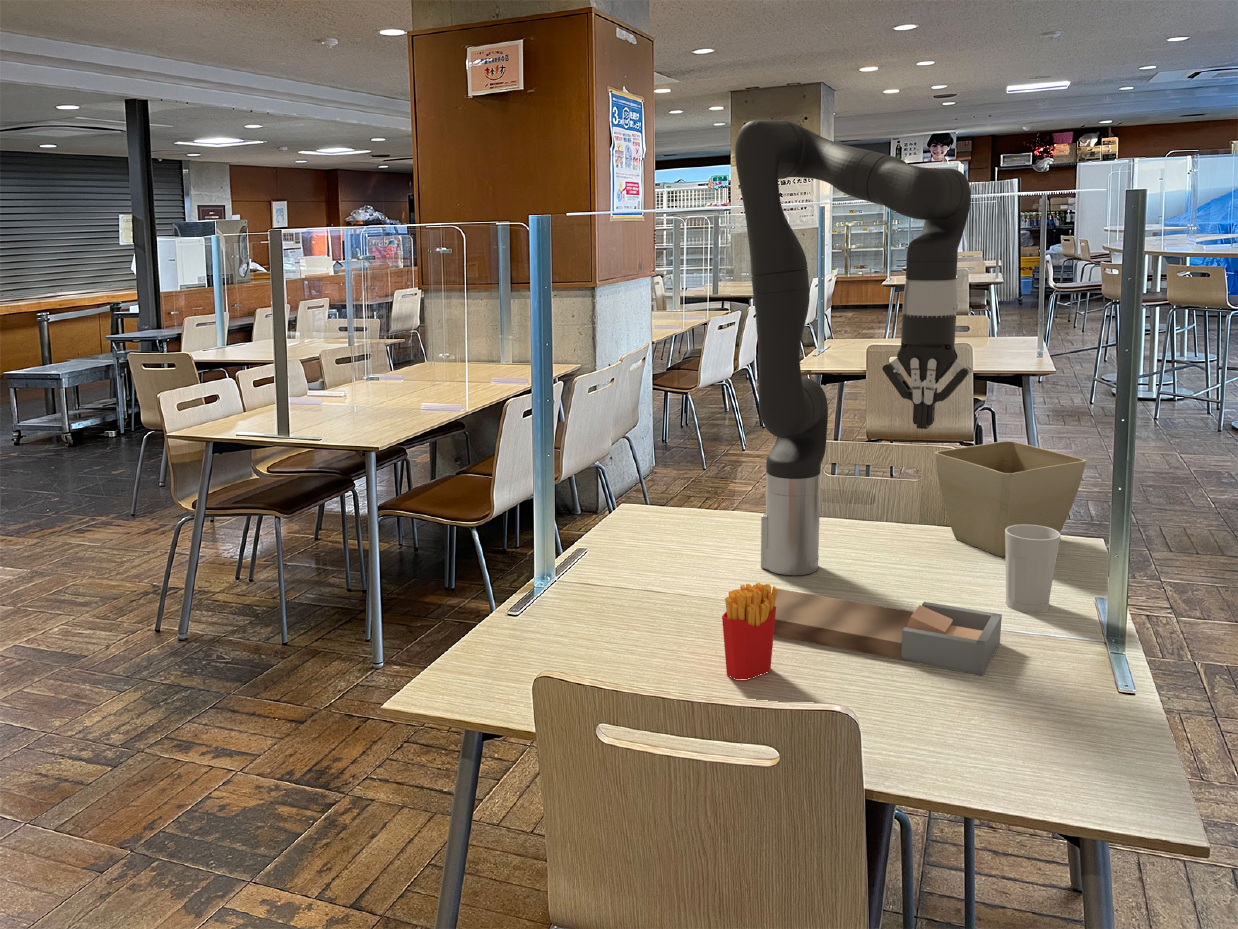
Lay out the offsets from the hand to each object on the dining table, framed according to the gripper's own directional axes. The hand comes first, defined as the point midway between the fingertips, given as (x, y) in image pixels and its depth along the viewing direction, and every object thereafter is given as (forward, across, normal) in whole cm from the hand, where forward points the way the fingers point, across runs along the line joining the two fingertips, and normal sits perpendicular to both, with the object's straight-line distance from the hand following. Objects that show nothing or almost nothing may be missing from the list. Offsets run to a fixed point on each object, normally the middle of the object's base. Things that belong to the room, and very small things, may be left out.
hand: (923, 427), depth 152 cm
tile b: (+29, +10, -13) cm, 33 cm away
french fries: (+29, -14, -32) cm, 46 cm away
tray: (+29, +8, -13) cm, 33 cm away
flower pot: (+29, +6, +40) cm, 50 cm away
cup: (+29, +15, +10) cm, 34 cm away
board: (+29, -8, -13) cm, 33 cm away
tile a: (+27, +5, -13) cm, 30 cm away
